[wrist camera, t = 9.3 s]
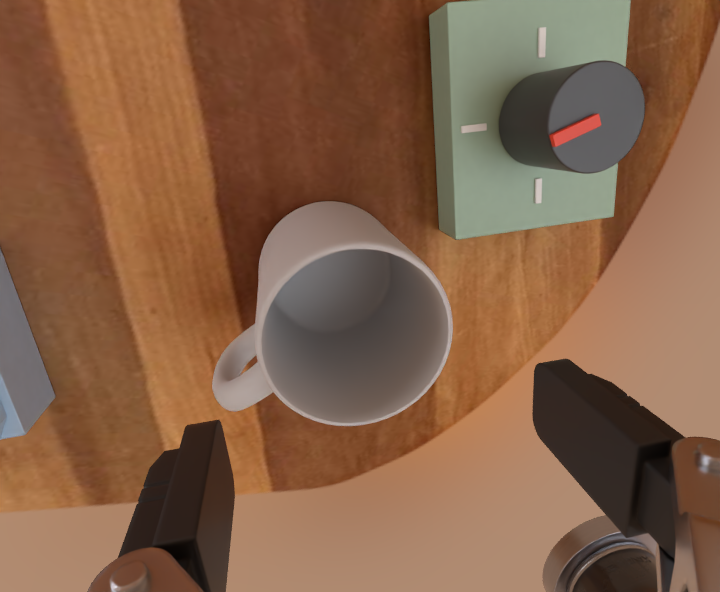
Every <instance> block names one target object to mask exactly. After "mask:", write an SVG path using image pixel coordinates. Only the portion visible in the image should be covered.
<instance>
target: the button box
mask: <svg viewBox="0 0 720 592" xmlns="http://www.w3.org/2000/svg"><path fill="white" fill-rule="evenodd" d="M55 397H56V396H55V394H54V391H53V388H52V386H51V383H50V380H49V377H48V375H47V372H46V369H45V367H44V364H43V361H42V359H41V356H40V353H39V351H38V348H37V345H36V343H35V340H34V337H33V335H32V332H31V329H30V326H29V324H28V321H27V318H26V316H25V313H24V310H23V308H22V305H21V302H20V300H19V297H18V294H17V292H16V289H15V286H14V283H13V281H12V278H11V275H10V273H9V270H8V267H7V265H6V262H5V259H4V257H3V254H2V251H1V249H0V440H1V439H5V438H11V437H16V436H22V435H26V433H27V432H28V431H29V430H30V428H31V427H32V426H33V425H34V423H35V422H36V421H37V420H38V418H39V417H40V416H41V415H42V413H43V412H44V411H45V410H46V408H47V407H48V406H49V405H50V403H51V402H52V401H53V400H54V398H55Z"/></svg>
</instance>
